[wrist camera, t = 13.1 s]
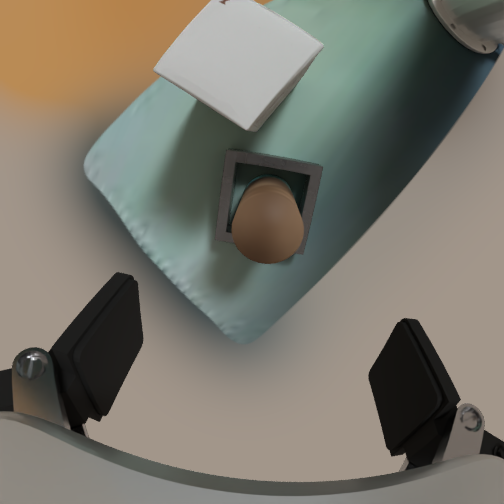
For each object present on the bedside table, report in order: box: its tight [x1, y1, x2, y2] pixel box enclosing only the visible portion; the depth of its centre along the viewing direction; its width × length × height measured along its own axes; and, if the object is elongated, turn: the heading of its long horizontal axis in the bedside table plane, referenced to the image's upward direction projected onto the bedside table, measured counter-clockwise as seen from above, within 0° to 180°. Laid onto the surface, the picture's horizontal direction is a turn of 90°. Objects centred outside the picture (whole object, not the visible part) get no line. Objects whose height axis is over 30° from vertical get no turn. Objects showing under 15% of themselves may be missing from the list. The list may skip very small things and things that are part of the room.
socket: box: [215, 149, 323, 255], centre depth 27 cm, size 9×9×2 cm
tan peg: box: [232, 174, 304, 264], centre depth 24 cm, size 5×5×10 cm
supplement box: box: [154, 0, 324, 132], centre depth 18 cm, size 7×7×13 cm
